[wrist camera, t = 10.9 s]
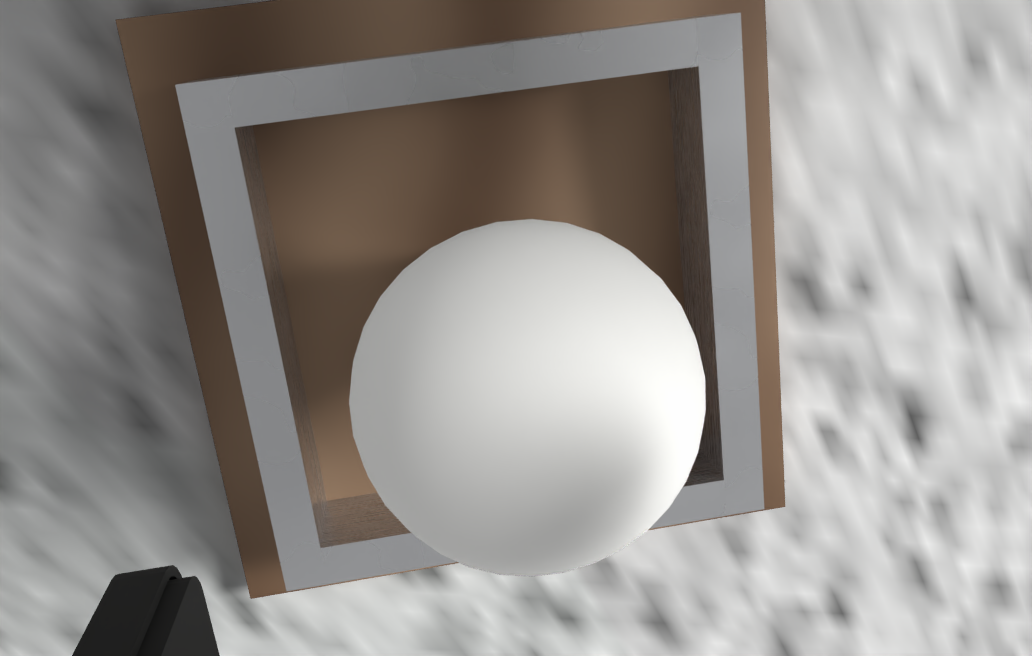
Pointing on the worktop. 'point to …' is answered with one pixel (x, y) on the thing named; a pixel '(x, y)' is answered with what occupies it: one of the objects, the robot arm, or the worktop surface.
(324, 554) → the square picture frame
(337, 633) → the worktop surface
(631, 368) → the lightbulb
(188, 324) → the socket base
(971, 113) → the worktop surface
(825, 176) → the worktop surface
